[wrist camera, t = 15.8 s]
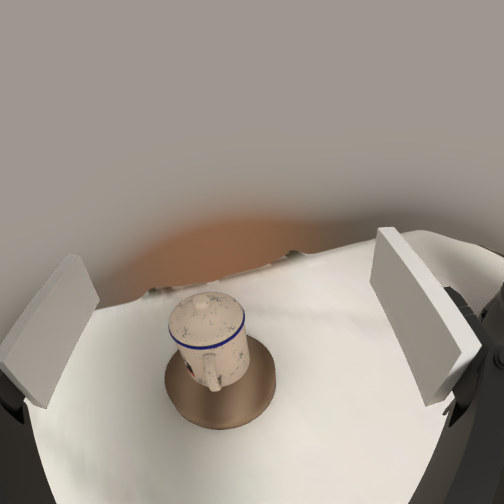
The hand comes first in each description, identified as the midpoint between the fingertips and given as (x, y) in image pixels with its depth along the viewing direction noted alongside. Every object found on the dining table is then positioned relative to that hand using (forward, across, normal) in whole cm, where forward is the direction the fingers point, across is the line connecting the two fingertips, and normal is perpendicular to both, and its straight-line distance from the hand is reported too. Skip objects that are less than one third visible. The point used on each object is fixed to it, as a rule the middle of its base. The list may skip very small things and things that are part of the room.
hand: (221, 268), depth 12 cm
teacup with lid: (+13, -5, -25) cm, 29 cm away
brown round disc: (+13, -6, -28) cm, 31 cm away
